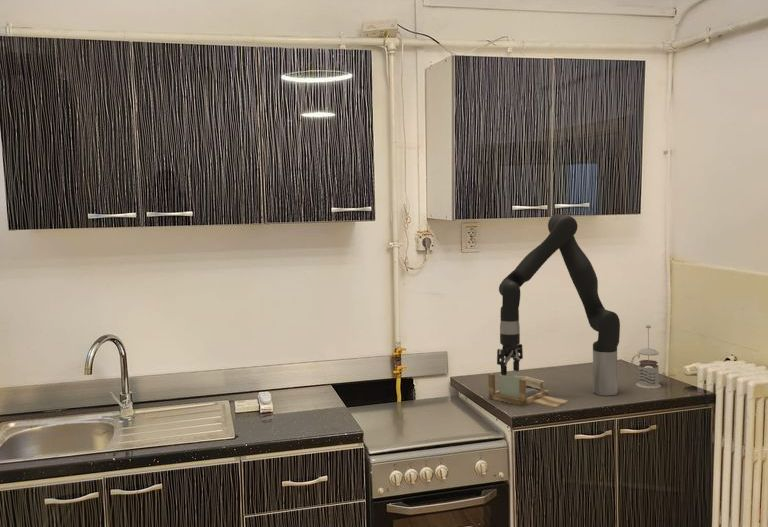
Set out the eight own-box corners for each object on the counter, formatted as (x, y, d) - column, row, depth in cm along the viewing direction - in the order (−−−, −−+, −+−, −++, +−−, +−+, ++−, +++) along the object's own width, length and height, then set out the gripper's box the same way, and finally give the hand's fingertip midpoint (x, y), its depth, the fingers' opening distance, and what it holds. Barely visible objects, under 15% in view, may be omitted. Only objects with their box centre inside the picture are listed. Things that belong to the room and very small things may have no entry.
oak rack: (514, 388, 289) (513, 364, 288) (548, 395, 278) (548, 370, 277) (488, 398, 276) (488, 374, 275) (523, 406, 265) (523, 380, 264)
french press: (657, 389, 279) (657, 328, 277) (628, 385, 286) (627, 325, 284) (664, 384, 287) (664, 323, 285) (635, 380, 294) (635, 321, 292)
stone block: (525, 394, 287) (505, 392, 283) (527, 382, 287) (507, 381, 283) (543, 402, 277) (522, 401, 272) (545, 390, 276) (524, 389, 272)
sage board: (503, 397, 277) (502, 373, 276) (522, 401, 271) (522, 376, 270) (499, 399, 275) (499, 374, 274) (519, 403, 269) (518, 377, 268)
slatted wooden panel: (545, 397, 275) (545, 396, 275) (568, 401, 268) (568, 400, 268) (532, 402, 268) (532, 401, 268) (556, 407, 261) (556, 406, 261)
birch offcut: (524, 382, 285) (525, 376, 285) (543, 387, 281) (544, 381, 281) (519, 383, 279) (520, 377, 279) (539, 388, 275) (540, 382, 275)
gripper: (507, 335, 262) (508, 378, 264) (528, 330, 273) (528, 370, 274) (491, 333, 267) (491, 375, 269) (511, 328, 278) (512, 368, 279)
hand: (510, 372), depth 272 cm, fingers open, 8 cm apart
